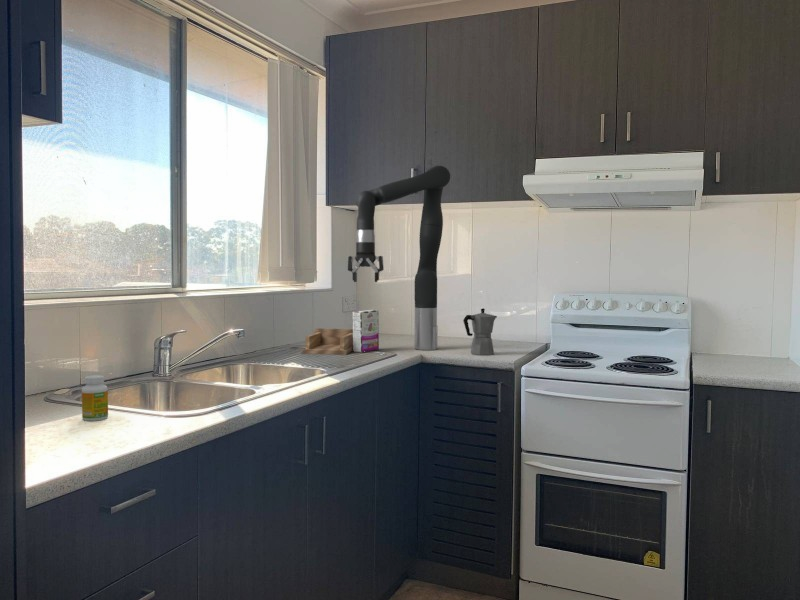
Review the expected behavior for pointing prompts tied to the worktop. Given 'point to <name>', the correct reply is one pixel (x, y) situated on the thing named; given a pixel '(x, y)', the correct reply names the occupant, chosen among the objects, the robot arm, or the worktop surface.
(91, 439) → the worktop surface
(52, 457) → the worktop surface
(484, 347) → the coffeepot
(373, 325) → the candy bar box
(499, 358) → the worktop surface
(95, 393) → the supplement bottle
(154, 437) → the worktop surface
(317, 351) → the walnut rack
